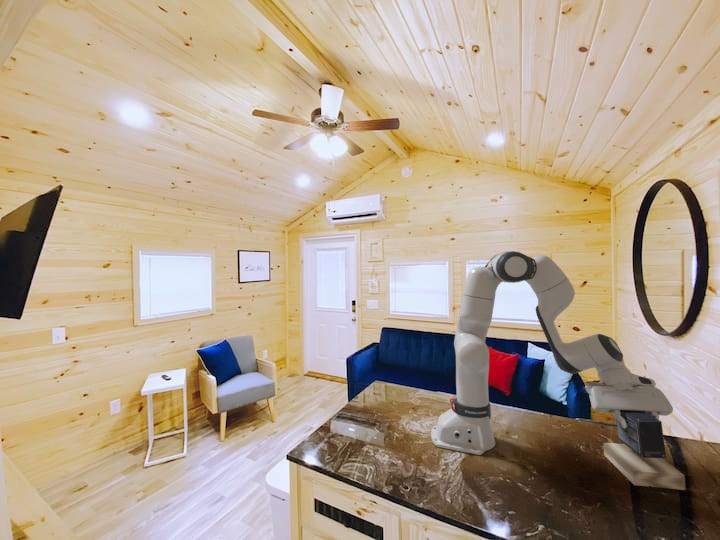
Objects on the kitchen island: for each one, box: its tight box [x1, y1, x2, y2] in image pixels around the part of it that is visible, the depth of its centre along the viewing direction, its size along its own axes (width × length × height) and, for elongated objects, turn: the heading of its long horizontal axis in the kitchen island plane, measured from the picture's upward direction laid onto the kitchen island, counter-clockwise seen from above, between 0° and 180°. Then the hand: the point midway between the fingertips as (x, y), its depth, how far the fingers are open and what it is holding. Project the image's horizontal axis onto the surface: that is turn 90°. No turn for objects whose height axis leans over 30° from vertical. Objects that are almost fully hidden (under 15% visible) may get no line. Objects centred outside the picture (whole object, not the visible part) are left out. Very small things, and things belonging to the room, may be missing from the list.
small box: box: [615, 410, 667, 459], centre depth 88 cm, size 11×6×10 cm, turn 169°
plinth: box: [603, 442, 686, 491], centre depth 88 cm, size 12×14×4 cm
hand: (642, 428), depth 87 cm, fingers closed on small box, 6 cm apart
